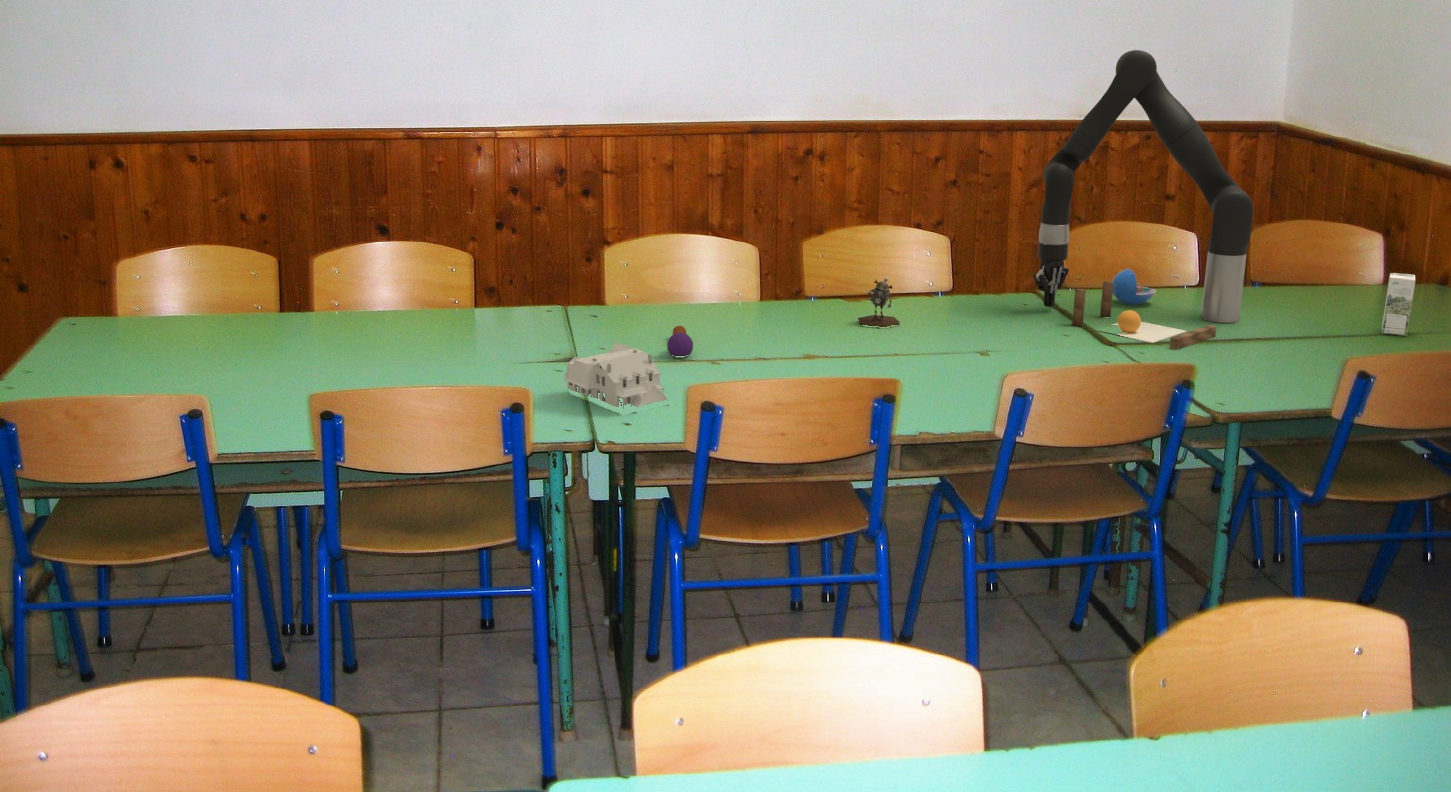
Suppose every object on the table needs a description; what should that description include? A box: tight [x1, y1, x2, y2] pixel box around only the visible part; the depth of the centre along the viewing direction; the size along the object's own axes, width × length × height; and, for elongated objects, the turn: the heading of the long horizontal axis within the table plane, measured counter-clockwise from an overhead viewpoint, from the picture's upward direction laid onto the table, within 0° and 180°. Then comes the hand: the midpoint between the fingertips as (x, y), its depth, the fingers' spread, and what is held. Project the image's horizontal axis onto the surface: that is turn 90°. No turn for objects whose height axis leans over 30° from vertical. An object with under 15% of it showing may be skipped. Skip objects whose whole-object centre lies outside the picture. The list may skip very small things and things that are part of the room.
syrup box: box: [1381, 272, 1416, 337], centre depth 340 cm, size 6×6×14 cm
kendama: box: [666, 325, 694, 356], centre depth 325 cm, size 6×6×20 cm
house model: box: [564, 342, 668, 409], centre depth 287 cm, size 19×20×10 cm
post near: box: [1072, 288, 1087, 327], centre depth 347 cm, size 3×3×9 cm
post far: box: [1099, 281, 1114, 318], centre depth 355 cm, size 3×3×9 cm
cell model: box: [1111, 268, 1157, 306], centre depth 369 cm, size 10×12×10 cm
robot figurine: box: [857, 276, 900, 327], centre depth 347 cm, size 11×9×12 cm
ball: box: [1117, 309, 1142, 333], centre depth 341 cm, size 6×6×6 cm
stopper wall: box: [1169, 324, 1217, 350], centre depth 332 cm, size 18×2×2 cm, turn 133°
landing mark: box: [1111, 321, 1188, 344], centre depth 342 cm, size 16×16×1 cm
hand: (1048, 306), depth 361 cm, fingers closed
